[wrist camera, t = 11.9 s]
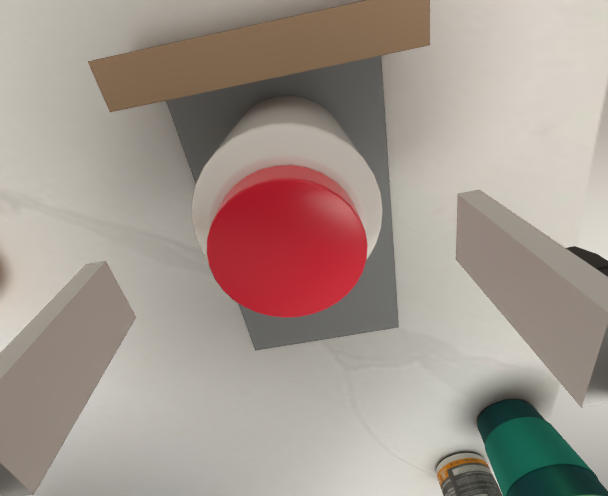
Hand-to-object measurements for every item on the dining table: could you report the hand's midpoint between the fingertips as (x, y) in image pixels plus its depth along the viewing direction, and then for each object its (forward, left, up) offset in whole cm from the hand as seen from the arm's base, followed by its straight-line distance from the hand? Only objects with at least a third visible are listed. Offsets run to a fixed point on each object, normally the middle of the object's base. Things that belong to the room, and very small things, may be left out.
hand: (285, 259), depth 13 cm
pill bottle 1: (0, +1, -10) cm, 10 cm away
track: (0, -4, -10) cm, 11 cm away
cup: (+16, -28, -11) cm, 34 cm away
